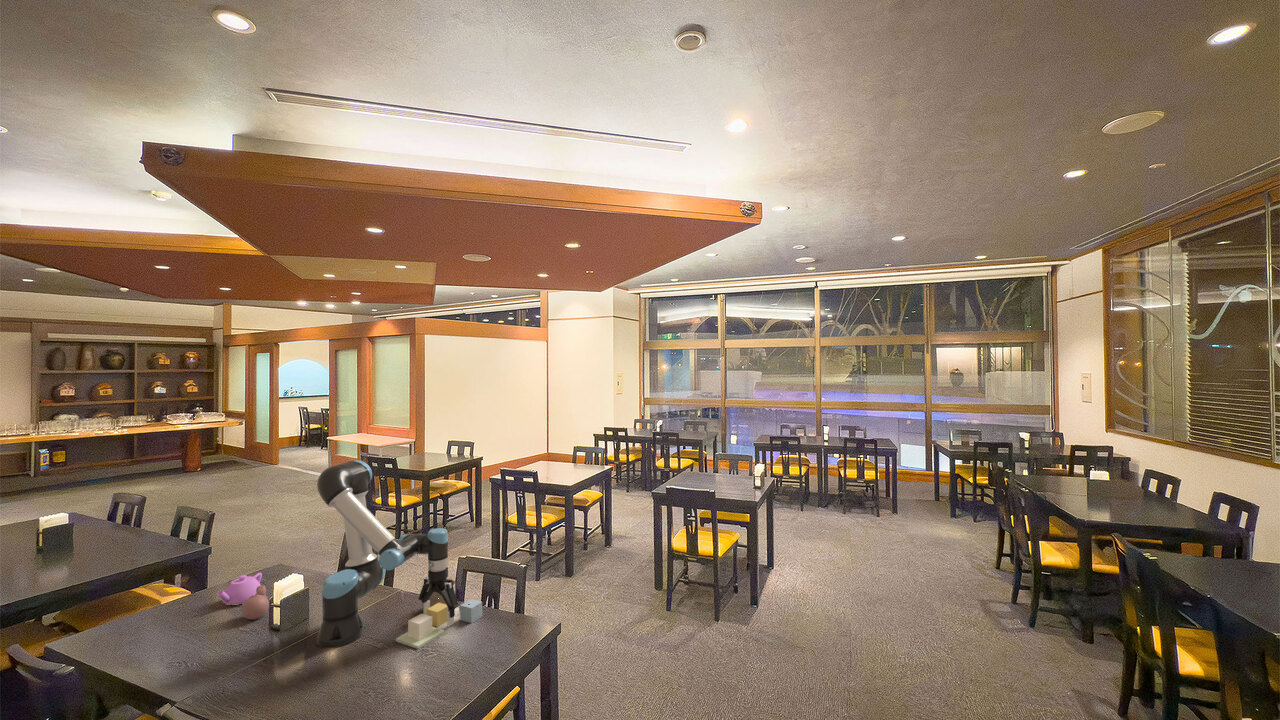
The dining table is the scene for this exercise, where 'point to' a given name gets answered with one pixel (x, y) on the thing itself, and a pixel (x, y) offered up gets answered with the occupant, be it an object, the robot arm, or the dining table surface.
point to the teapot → (240, 589)
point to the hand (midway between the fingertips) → (438, 621)
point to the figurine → (256, 604)
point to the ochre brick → (438, 614)
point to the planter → (435, 595)
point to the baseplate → (419, 642)
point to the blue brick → (471, 611)
